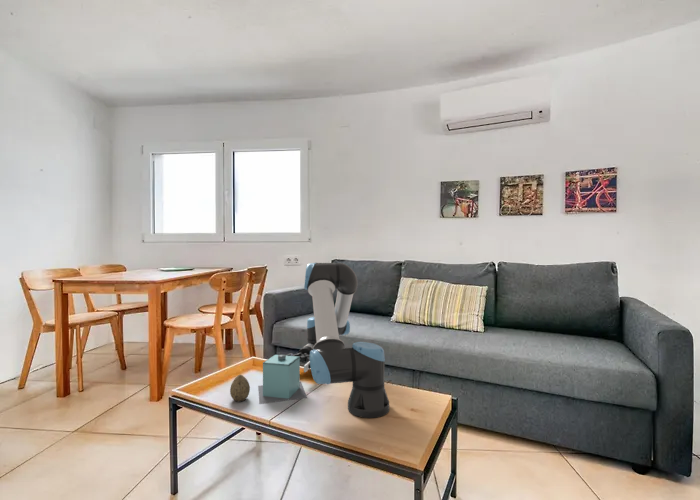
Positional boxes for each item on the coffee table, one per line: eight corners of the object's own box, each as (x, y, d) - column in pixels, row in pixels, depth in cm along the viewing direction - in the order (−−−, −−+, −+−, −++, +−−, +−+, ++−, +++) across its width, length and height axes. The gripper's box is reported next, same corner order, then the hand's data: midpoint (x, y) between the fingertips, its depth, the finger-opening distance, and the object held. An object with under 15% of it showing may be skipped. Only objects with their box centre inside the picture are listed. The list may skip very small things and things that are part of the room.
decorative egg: (239, 406, 125) (239, 379, 125) (226, 402, 129) (226, 376, 129) (253, 399, 131) (253, 373, 132) (240, 395, 135) (240, 370, 135)
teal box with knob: (299, 387, 142) (299, 352, 142) (288, 398, 131) (288, 360, 131) (275, 385, 144) (275, 351, 144) (262, 395, 134) (262, 358, 134)
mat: (307, 399, 132) (307, 398, 132) (259, 405, 126) (259, 403, 126) (300, 382, 149) (300, 381, 149) (258, 387, 144) (258, 385, 144)
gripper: (332, 363, 164) (317, 379, 143) (284, 359, 170) (263, 374, 149) (332, 347, 164) (317, 361, 143) (284, 344, 170) (263, 356, 149)
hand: (289, 367), depth 146 cm, fingers open, 13 cm apart
